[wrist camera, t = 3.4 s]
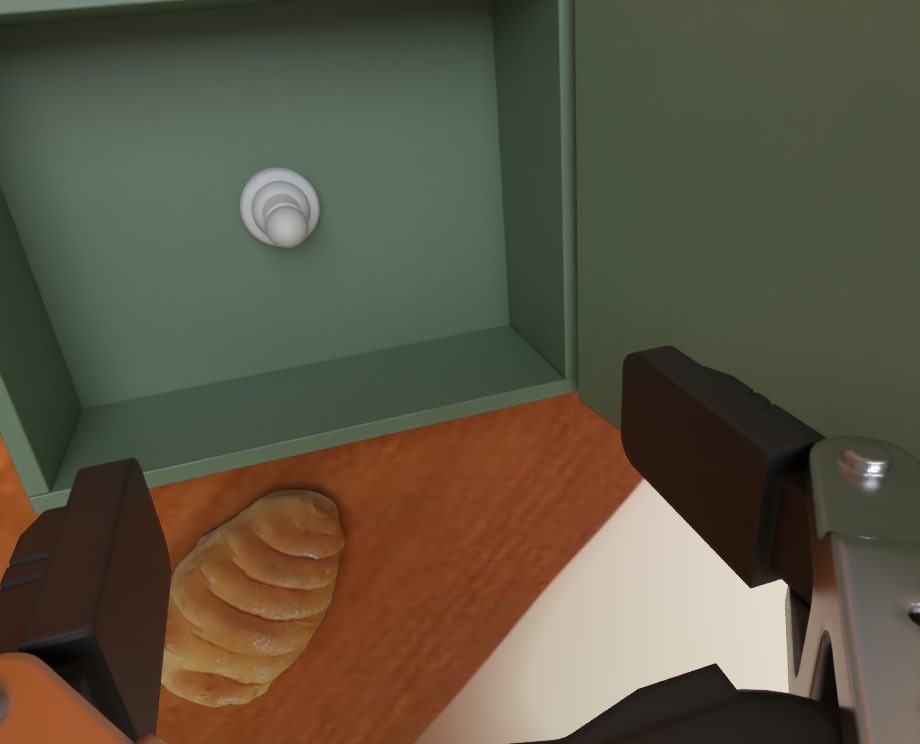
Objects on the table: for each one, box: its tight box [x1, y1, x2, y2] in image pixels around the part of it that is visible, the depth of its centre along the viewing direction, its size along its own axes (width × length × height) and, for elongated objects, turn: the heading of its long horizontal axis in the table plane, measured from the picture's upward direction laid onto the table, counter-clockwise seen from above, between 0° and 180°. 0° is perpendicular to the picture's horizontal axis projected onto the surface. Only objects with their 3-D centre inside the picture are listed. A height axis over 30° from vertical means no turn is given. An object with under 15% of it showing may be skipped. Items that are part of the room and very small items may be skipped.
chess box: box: [0, 0, 579, 514], centre depth 22 cm, size 17×13×6 cm
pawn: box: [240, 167, 320, 248], centre depth 22 cm, size 3×3×4 cm
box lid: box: [575, 0, 920, 460], centre depth 13 cm, size 18×13×1 cm
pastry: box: [161, 490, 345, 707], centre depth 29 cm, size 9×7×4 cm
